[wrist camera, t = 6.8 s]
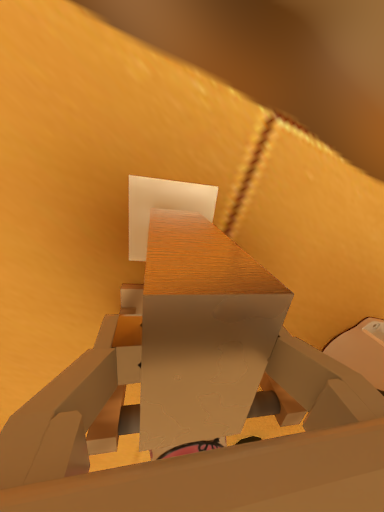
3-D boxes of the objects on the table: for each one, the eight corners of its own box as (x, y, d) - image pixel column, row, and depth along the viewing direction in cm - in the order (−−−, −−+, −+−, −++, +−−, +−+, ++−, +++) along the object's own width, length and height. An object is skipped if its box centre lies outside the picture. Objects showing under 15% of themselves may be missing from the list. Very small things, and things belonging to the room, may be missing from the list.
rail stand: (243, 286, 30) (320, 389, 16) (232, 325, 33) (288, 441, 19) (122, 284, 26) (81, 415, 12) (122, 328, 29) (91, 474, 15)
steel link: (198, 211, 16) (294, 294, 5) (189, 281, 19) (240, 433, 8) (150, 207, 15) (142, 295, 4) (147, 281, 18) (139, 451, 7)
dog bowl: (135, 454, 45) (132, 499, 39) (170, 407, 40) (172, 451, 34) (200, 457, 51) (206, 496, 45) (238, 416, 46) (251, 455, 40)
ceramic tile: (216, 186, 23) (218, 186, 22) (204, 261, 27) (205, 263, 26) (129, 174, 21) (128, 174, 20) (129, 257, 25) (128, 260, 24)
